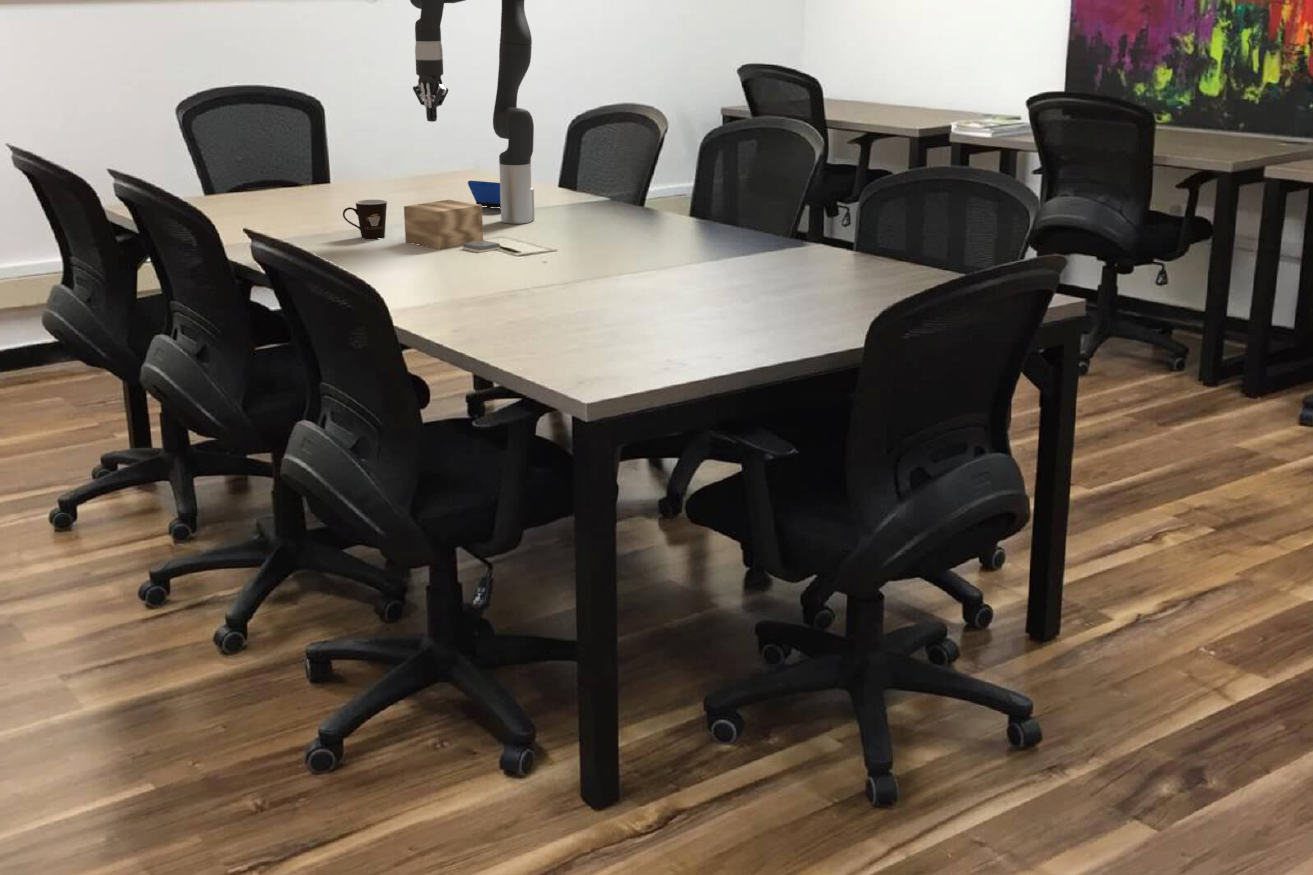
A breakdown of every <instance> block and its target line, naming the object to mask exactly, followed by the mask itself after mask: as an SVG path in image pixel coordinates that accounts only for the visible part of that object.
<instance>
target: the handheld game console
mask: <svg viewBox="0 0 1313 875" xmlns="http://www.w3.org/2000/svg"><path fill="white" fill-rule="evenodd" d="M467 185H468V188H469V190H470V193H472V196H473V199H474V200H475V202H476V203H475V204H479V205H482V206H487V207H500V208H501V200H500V182H495V181H494V182H492V181H480V180H468V181H467Z"/></svg>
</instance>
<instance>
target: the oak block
mask: <svg viewBox="0 0 1313 875" xmlns="http://www.w3.org/2000/svg"><path fill="white" fill-rule="evenodd" d="M403 215H404V216H403V217H404V233H405V234H404V237H405V243H406V244H410V243H414V244H413V245H416V244H419V245H418V246H421V245H422V247H426V246H427V248H432V249H436V248H438V250H440V248H442V249H447V248H452V247H458V246H463V243H468V242H474V241H481V240H484V228H483V227H484V225H483V222H484V221H483V207H482V205H479V204H476V203H473V202H472V203H471V202H464V201H460V200H453V199H443V200H438V201H430V202H424V203H418V204H417V203H415V204H411V205H404V206H403Z"/></svg>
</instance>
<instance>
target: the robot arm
mask: <svg viewBox="0 0 1313 875" xmlns="http://www.w3.org/2000/svg"><path fill="white" fill-rule="evenodd" d="M409 1H410V3H411V5H412V6H413V7H415V8H416V9H419V10H420V17H419V19H417V20H416V21H415V24H414V31H415V34H414V35H415V37H414V38H415V46H414V48H415V49H414V54H415V55H414V56H415V58H414V59H415V74H416V75H417V76H418V80H417V81H418V82H417V83H418V84H416V85H414V86H413V87H412V90H413V92H414V94H415V96H416V98H417V100H418V102H419V103H420V105H421V106H424V107H425V114H426V121H427V122H433V123H434V122H436V121H437V119H438V114H437V113H438V112H437V111H438V110H437V109H438V107H440V106H442V105H443V103H444V101H445V100H446V97H447V95H448V92H449V88H448V87H444V85H443V80H442V76H443V75H444V59H443V58H444V56H443V53H444V52H443V45H442V31H441V30H442V29H441V23H442V19H443V14H444V8H445V4H456V3H460V2H465V1H466V0H409ZM499 35H500V36H499V52H498V73H497V87H496V88H497V89H496V94H495V95H496V96H495V102H494V108H493V114H492V115H493V117H492V126H493V127H492V128H493V130H494V134H495V135H496V136H497V137H499V139H500V138H501V139H506V140H507V142H508V144H507V148H506V149H505V151H503V152H501V153H500V154H499V156H498V158H499V159H498V162H499V164H498V168H499V183H500V200H501V209H500V221H501V223H504V224H511V225H512V224H513V225H514V224H515V225H516V224H527V223H531V222H533V221H535V189H534V188H533V187H532V168H531V167H532V162H531V160H532V155H533V153H534V139H535V137H534V134H535V133H534V132H535V131H534V129H535V128H534V127H535V126H534V119H533V116H532V114H531V113H530V111H529V110H527V109H525V108H519V107H517V106H518V105H517V104H518V103H517V101H518V93H519V88H520V86H521V84H522V82H523V80H524V78H525V77H526V74H527V71H529V67H530V64H531V61H532V48H533V47H532V46H533V45H532V44H533V41H532V32H531V29H530V26H529V23H528V20H527V16H526V12H525V0H501V13H500V34H499ZM532 220H533V221H532Z"/></svg>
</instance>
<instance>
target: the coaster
mask: <svg viewBox="0 0 1313 875" xmlns="http://www.w3.org/2000/svg"><path fill="white" fill-rule="evenodd" d="M500 245H501V243H498V242H494V241H488V240H484V239H483V240H481V241H474V242H468V243H463V245H462V249H463V250H466V251H470V252H475V253H479V252H480V253H485V252H491V251H496V250H500V248H501V247H500Z"/></svg>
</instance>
